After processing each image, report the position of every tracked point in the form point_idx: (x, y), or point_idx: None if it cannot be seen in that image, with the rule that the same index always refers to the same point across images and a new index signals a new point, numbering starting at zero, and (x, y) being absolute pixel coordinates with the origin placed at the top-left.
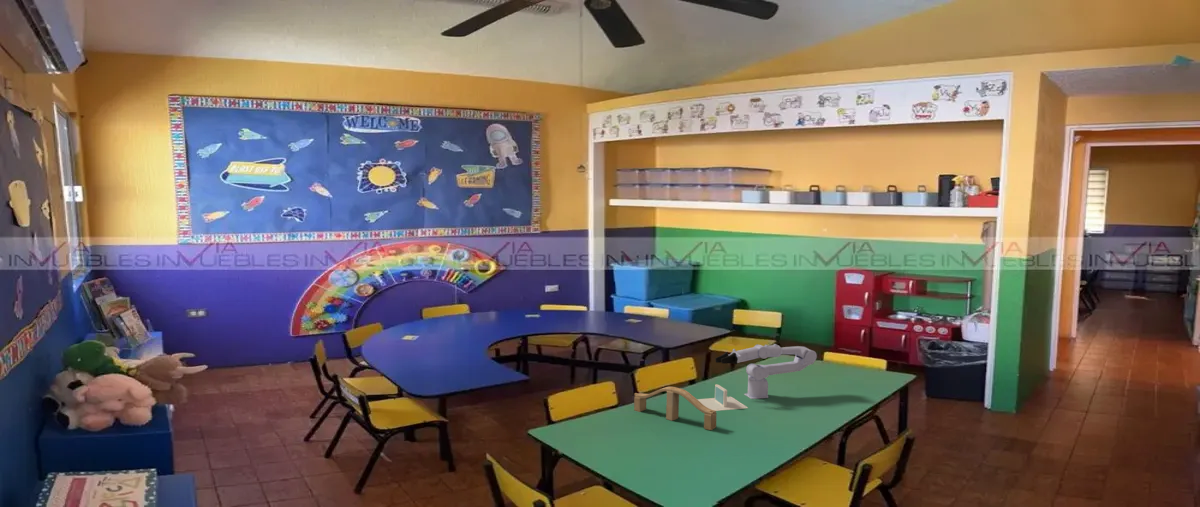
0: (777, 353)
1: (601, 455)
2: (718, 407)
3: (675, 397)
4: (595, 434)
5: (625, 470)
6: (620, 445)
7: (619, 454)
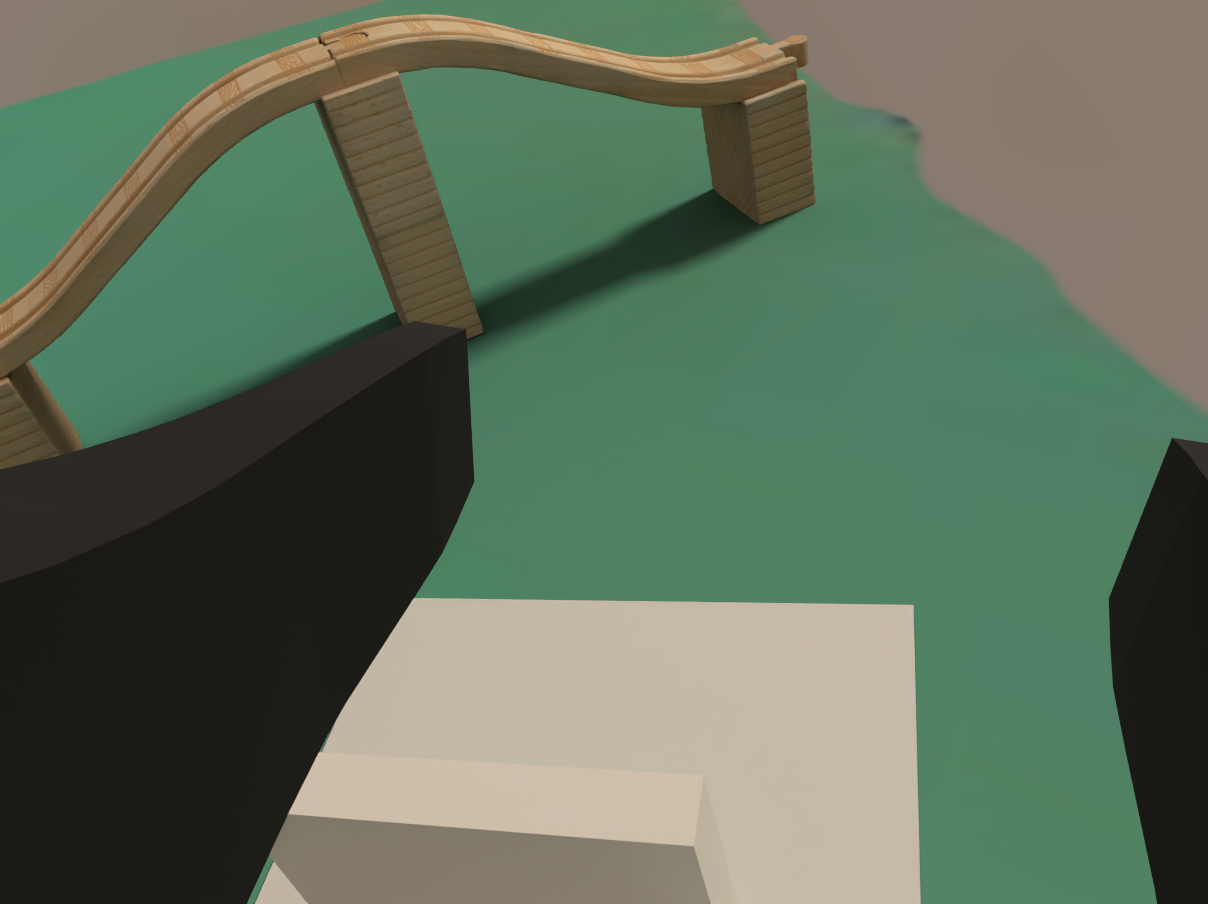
0: None
1: (244, 63)
2: None
3: (333, 140)
4: None
5: (66, 108)
6: None
7: None
